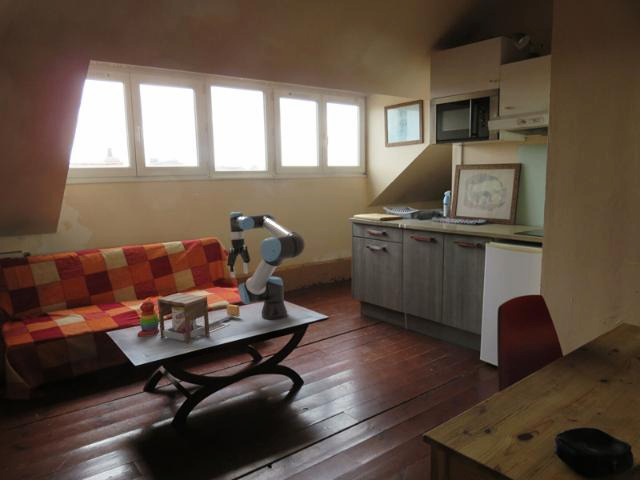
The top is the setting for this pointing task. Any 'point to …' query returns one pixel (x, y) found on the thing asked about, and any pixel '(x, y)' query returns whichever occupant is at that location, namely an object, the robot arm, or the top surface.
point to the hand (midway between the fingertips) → (239, 275)
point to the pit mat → (216, 326)
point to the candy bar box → (180, 320)
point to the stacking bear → (148, 319)
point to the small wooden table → (192, 309)
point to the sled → (231, 311)
